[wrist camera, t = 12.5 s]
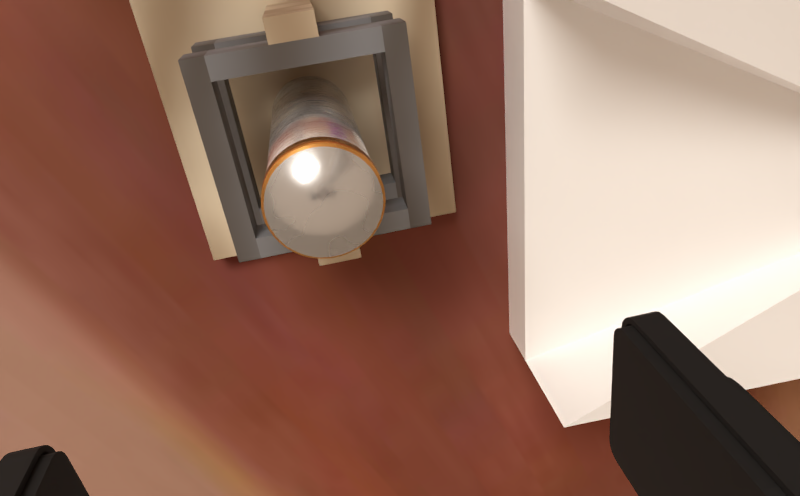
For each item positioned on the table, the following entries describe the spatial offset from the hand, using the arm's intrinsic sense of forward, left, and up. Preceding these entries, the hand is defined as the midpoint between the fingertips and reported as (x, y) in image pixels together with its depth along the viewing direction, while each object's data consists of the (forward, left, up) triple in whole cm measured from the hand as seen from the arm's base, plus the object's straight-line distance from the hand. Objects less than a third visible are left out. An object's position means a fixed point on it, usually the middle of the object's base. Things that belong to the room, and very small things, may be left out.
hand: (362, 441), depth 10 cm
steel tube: (0, 0, -23) cm, 23 cm away
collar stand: (0, 0, -24) cm, 24 cm away
